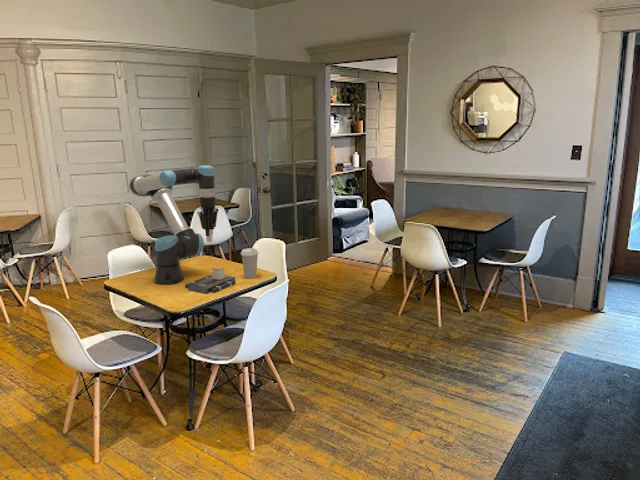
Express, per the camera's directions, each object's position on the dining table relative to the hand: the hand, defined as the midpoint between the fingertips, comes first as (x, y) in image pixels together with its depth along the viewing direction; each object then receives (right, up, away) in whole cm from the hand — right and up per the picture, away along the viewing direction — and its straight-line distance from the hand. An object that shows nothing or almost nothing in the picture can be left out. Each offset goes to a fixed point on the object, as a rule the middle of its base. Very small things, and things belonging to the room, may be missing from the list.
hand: (209, 241), depth 251 cm
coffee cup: (+19, -19, +13) cm, 30 cm away
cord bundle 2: (+9, -23, -6) cm, 26 cm away
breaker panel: (+2, -23, -2) cm, 23 cm away
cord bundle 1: (-5, -22, +2) cm, 22 cm away
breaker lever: (+4, -19, +2) cm, 20 cm away
